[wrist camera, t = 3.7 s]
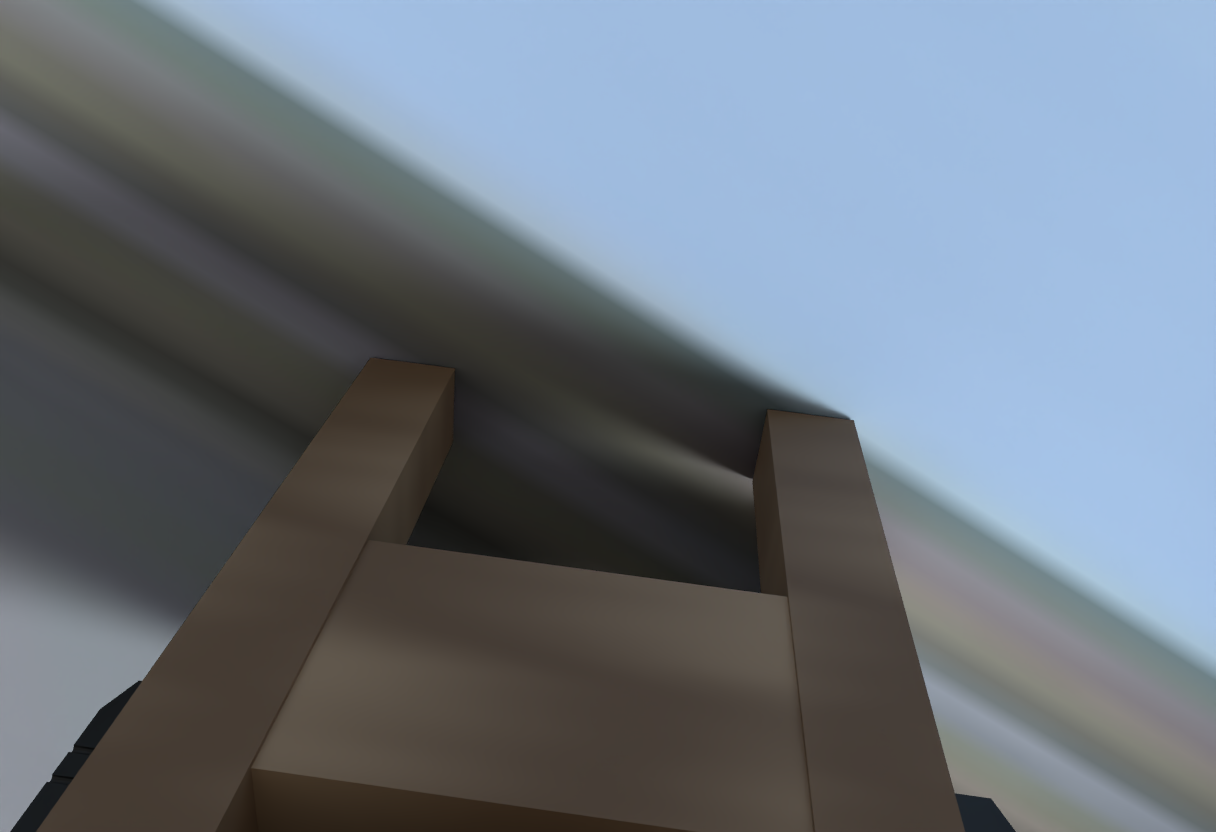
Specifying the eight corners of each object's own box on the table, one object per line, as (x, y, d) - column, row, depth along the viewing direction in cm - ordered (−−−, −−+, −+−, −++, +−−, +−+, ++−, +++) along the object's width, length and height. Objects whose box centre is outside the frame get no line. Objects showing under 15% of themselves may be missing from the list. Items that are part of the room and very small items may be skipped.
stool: (372, 710, 17) (75, 1447, 9) (363, 350, 14) (-129, 1020, 6) (771, 766, 17) (828, 1573, 9) (862, 415, 13) (1093, 1206, 5)
